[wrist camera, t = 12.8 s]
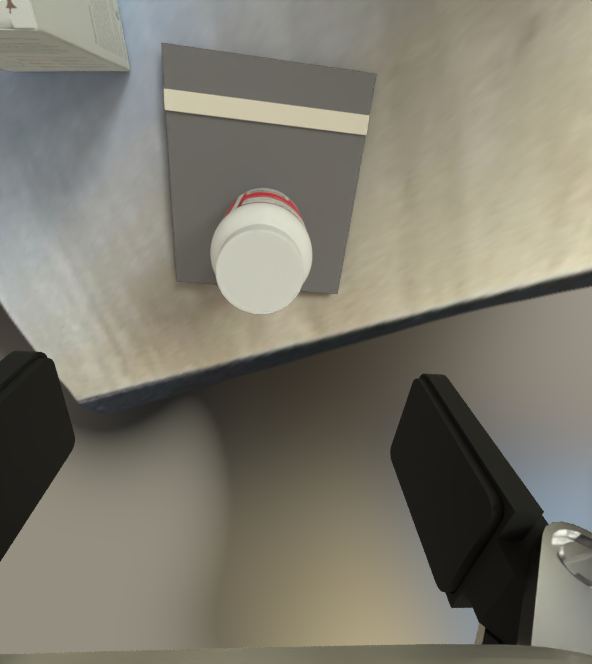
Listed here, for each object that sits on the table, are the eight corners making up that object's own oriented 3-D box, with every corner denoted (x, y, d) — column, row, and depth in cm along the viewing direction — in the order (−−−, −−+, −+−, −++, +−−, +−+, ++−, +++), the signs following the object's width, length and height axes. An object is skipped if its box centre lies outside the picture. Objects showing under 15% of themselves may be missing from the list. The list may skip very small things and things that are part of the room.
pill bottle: (251, 277, 30) (241, 344, 20) (209, 212, 27) (174, 253, 17) (316, 242, 29) (337, 295, 19) (279, 170, 26) (282, 189, 16)
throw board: (165, 46, 23) (160, 41, 22) (372, 76, 24) (377, 73, 23) (179, 277, 30) (176, 282, 29) (335, 289, 32) (337, 294, 31)
